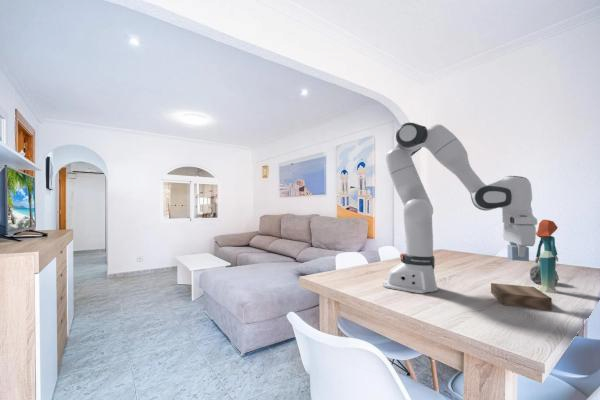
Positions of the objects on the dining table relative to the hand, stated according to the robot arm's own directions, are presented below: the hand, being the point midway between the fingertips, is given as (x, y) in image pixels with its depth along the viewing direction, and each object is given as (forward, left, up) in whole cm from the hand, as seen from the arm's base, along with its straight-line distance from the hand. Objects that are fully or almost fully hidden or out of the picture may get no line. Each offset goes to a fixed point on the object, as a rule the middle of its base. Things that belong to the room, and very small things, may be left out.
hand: (517, 255), depth 101 cm
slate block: (0, 0, -2) cm, 2 cm away
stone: (+20, +34, -17) cm, 43 cm away
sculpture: (+16, +20, -17) cm, 31 cm away
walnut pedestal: (0, 0, -17) cm, 17 cm away
